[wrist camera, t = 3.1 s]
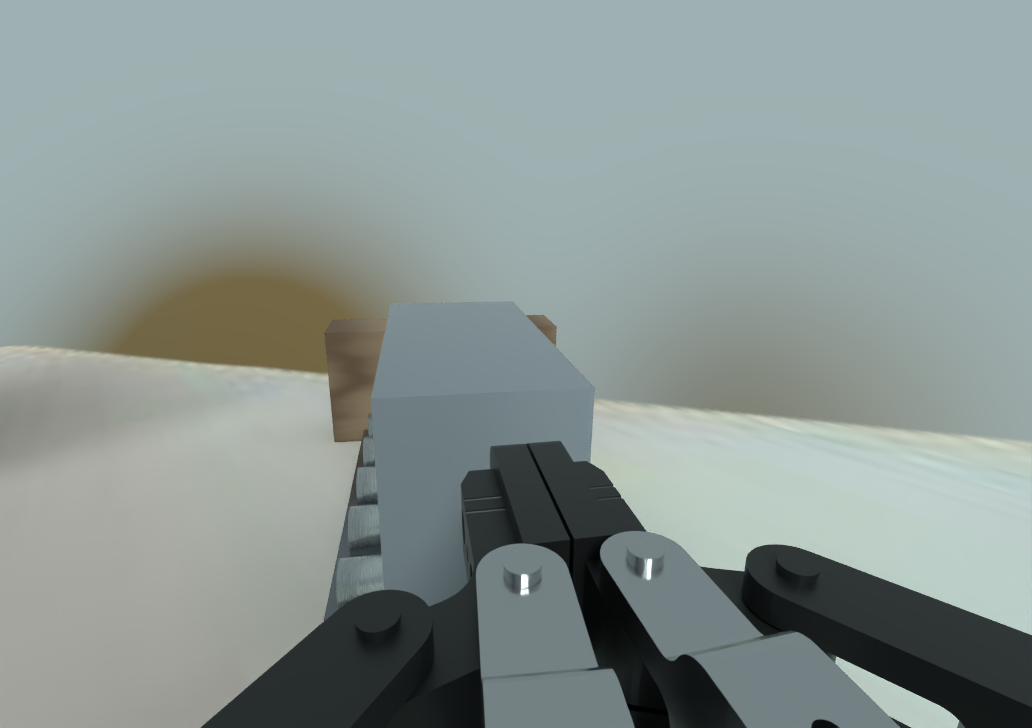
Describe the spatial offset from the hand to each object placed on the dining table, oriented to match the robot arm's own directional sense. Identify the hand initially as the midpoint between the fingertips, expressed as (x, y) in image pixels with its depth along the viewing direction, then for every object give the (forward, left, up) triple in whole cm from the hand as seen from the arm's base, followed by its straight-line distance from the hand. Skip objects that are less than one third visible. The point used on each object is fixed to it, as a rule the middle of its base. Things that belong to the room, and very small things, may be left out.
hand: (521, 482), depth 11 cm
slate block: (-7, +9, -8) cm, 14 cm away
